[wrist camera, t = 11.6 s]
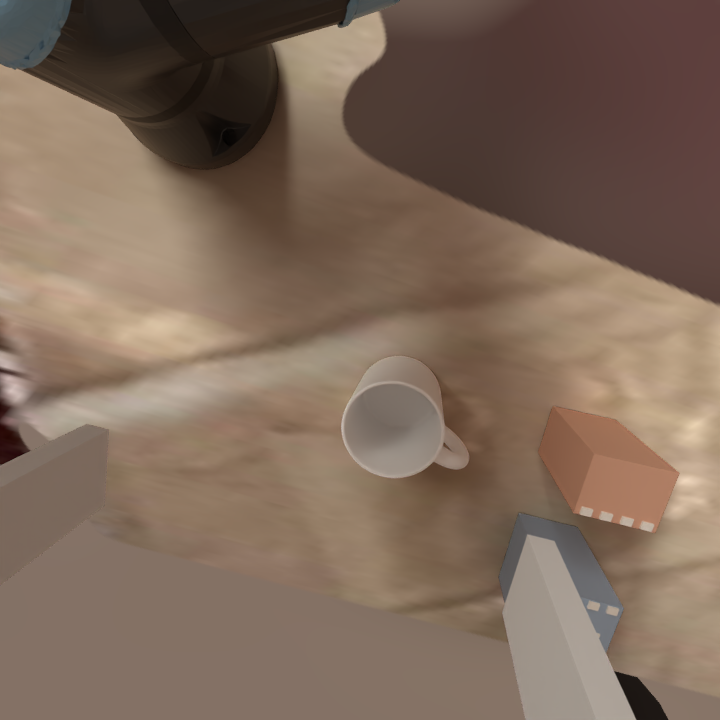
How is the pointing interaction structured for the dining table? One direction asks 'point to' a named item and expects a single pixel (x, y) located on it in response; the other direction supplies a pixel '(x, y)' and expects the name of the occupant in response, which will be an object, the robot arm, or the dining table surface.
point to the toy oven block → (579, 565)
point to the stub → (606, 470)
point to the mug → (399, 421)
